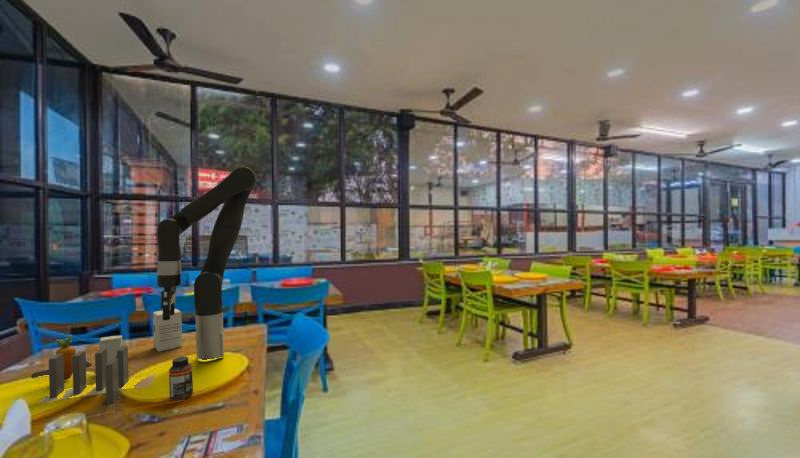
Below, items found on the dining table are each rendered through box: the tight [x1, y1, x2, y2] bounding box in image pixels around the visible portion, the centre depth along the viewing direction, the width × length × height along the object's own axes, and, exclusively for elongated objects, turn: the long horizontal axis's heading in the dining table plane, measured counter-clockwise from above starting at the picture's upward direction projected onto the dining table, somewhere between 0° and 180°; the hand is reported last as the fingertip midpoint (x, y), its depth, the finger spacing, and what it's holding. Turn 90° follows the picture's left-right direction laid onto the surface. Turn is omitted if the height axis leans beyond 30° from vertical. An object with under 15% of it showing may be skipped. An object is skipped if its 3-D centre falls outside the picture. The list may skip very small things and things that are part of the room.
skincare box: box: [99, 335, 123, 363], centre depth 131 cm, size 6×4×12 cm
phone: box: [31, 360, 92, 378], centre depth 133 cm, size 7×1×15 cm
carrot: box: [55, 334, 77, 380], centre depth 123 cm, size 5×5×15 cm
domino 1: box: [72, 350, 87, 395], centre depth 114 cm, size 2×5×12 cm, turn 22°
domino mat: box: [38, 374, 157, 404], centre depth 117 cm, size 27×10×1 cm, turn 112°
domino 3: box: [105, 359, 120, 405], centre depth 108 cm, size 2×5×12 cm, turn 22°
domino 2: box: [94, 348, 107, 391], centre depth 117 cm, size 2×5×12 cm, turn 22°
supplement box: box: [152, 308, 183, 353], centre depth 158 cm, size 9×9×15 cm
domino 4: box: [117, 345, 130, 388], centre depth 119 cm, size 2×5×12 cm, turn 22°
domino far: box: [48, 353, 65, 398], centre depth 112 cm, size 2×5×12 cm, turn 23°
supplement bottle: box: [168, 355, 194, 401], centre depth 110 cm, size 6×6×11 cm
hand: (168, 317), depth 137 cm, fingers open, 8 cm apart
